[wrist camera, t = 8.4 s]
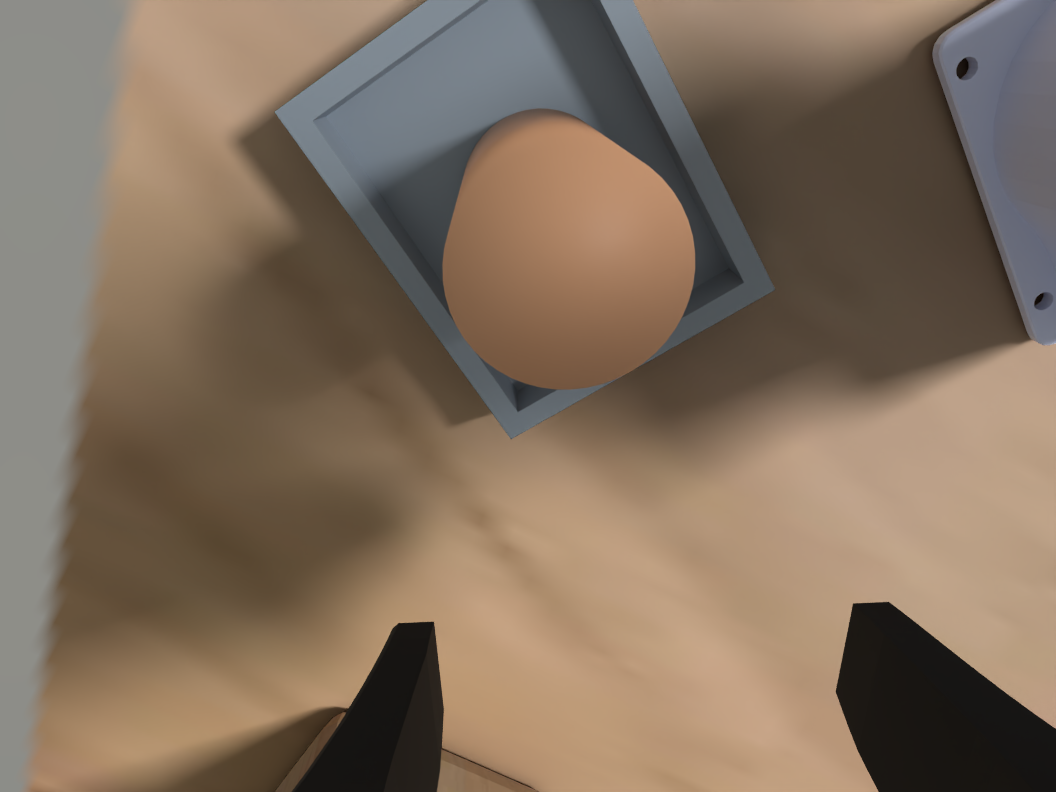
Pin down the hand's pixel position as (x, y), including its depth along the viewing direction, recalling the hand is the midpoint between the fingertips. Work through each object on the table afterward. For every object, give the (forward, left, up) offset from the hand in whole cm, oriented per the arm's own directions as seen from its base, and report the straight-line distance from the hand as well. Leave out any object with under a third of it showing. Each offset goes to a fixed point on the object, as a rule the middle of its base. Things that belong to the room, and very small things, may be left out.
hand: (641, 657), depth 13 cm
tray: (+6, -2, -10) cm, 12 cm away
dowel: (+6, -2, -10) cm, 12 cm away
